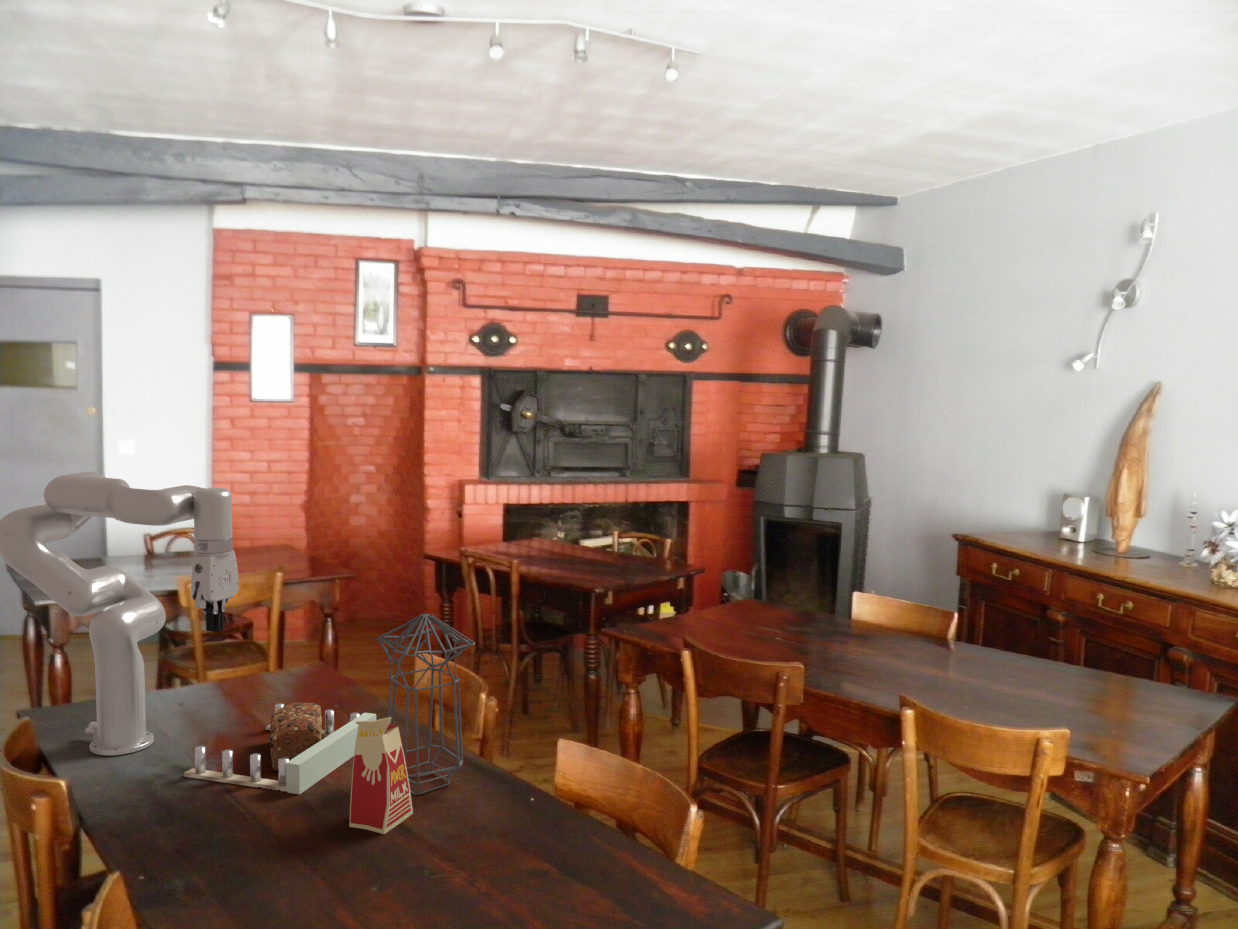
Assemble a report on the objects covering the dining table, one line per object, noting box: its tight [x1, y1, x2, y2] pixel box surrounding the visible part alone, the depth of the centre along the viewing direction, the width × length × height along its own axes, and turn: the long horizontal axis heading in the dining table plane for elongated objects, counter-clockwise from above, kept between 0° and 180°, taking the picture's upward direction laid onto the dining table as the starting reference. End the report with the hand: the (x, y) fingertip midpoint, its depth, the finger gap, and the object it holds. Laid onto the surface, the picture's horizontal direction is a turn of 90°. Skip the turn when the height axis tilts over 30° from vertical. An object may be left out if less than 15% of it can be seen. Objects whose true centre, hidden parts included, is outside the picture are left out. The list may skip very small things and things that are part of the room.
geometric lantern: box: [374, 613, 476, 796], centre depth 192 cm, size 16×16×35 cm
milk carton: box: [348, 716, 414, 835], centre depth 176 cm, size 9×9×20 cm
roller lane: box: [183, 702, 377, 795], centre depth 205 cm, size 27×30×6 cm
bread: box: [269, 702, 323, 772], centre depth 207 cm, size 19×11×10 cm, turn 17°
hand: (214, 630), depth 205 cm, fingers closed
